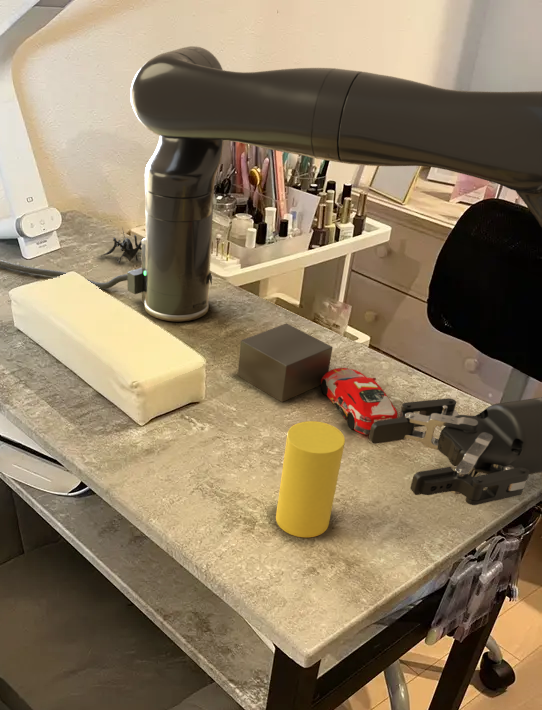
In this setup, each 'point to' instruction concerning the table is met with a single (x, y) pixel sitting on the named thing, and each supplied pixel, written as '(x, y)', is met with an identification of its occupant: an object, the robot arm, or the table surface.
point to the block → (284, 361)
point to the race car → (357, 398)
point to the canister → (309, 478)
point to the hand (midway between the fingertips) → (391, 457)
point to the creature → (126, 248)
